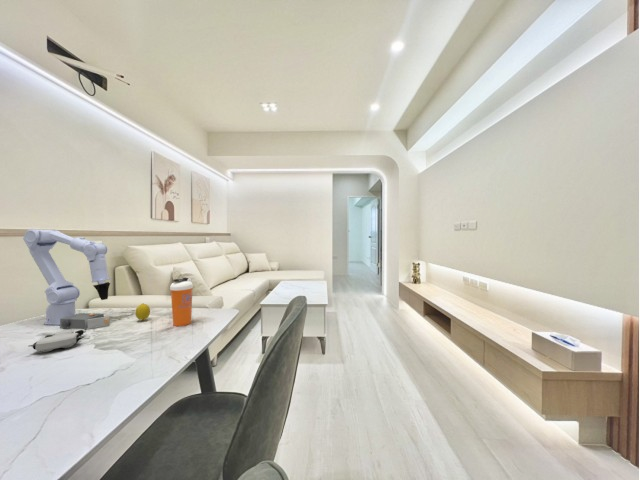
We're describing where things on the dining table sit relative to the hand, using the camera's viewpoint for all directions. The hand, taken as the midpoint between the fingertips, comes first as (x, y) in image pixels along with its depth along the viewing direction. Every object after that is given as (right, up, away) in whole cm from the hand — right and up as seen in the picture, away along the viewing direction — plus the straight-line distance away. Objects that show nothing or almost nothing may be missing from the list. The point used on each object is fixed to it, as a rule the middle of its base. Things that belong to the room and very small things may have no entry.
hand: (104, 299), depth 113 cm
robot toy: (+6, -11, -25) cm, 28 cm away
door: (+3, -10, -7) cm, 13 cm away
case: (-6, -11, -4) cm, 13 cm away
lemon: (+17, -11, +1) cm, 20 cm away
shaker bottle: (+37, -10, -3) cm, 39 cm away
